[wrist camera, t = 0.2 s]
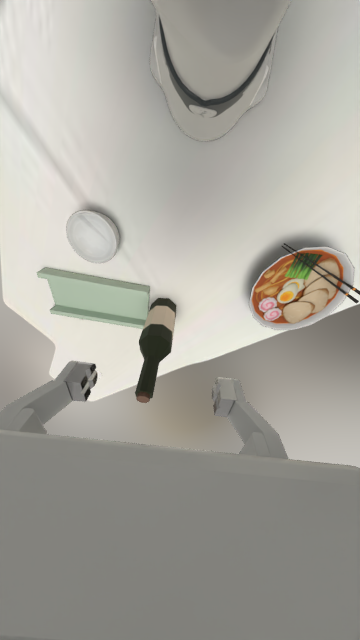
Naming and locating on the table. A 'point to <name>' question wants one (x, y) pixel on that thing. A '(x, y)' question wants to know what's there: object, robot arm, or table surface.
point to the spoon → (99, 374)
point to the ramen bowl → (302, 288)
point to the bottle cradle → (97, 298)
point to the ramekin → (92, 236)
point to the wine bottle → (155, 344)
